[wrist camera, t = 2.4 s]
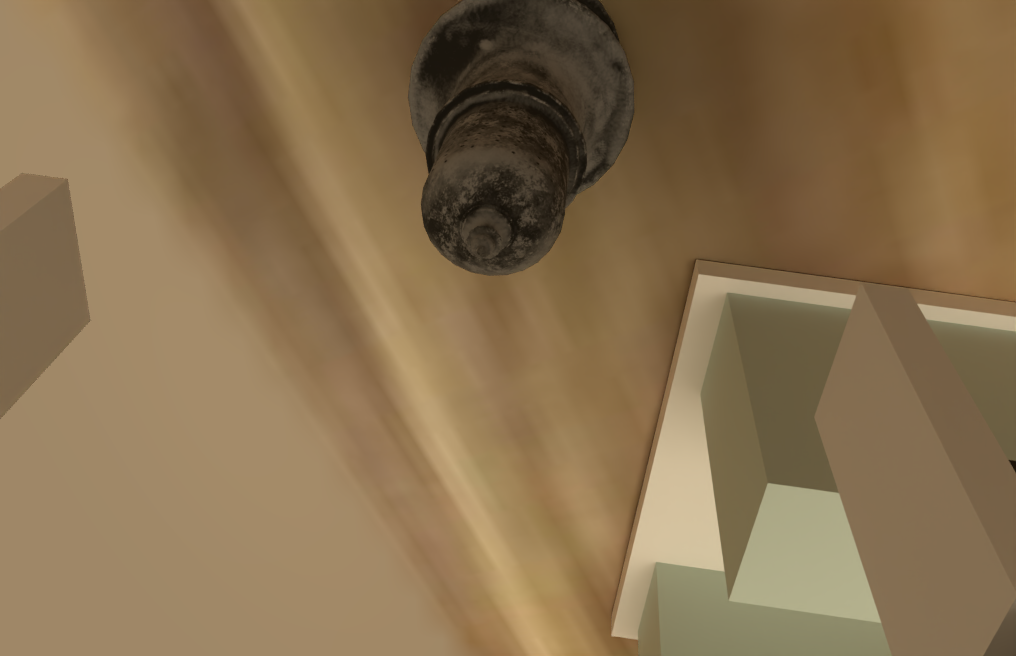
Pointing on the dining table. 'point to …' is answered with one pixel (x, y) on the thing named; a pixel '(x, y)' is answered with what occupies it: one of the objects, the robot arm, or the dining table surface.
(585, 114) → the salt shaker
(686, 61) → the dining table surface
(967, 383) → the cream plate with blocks
